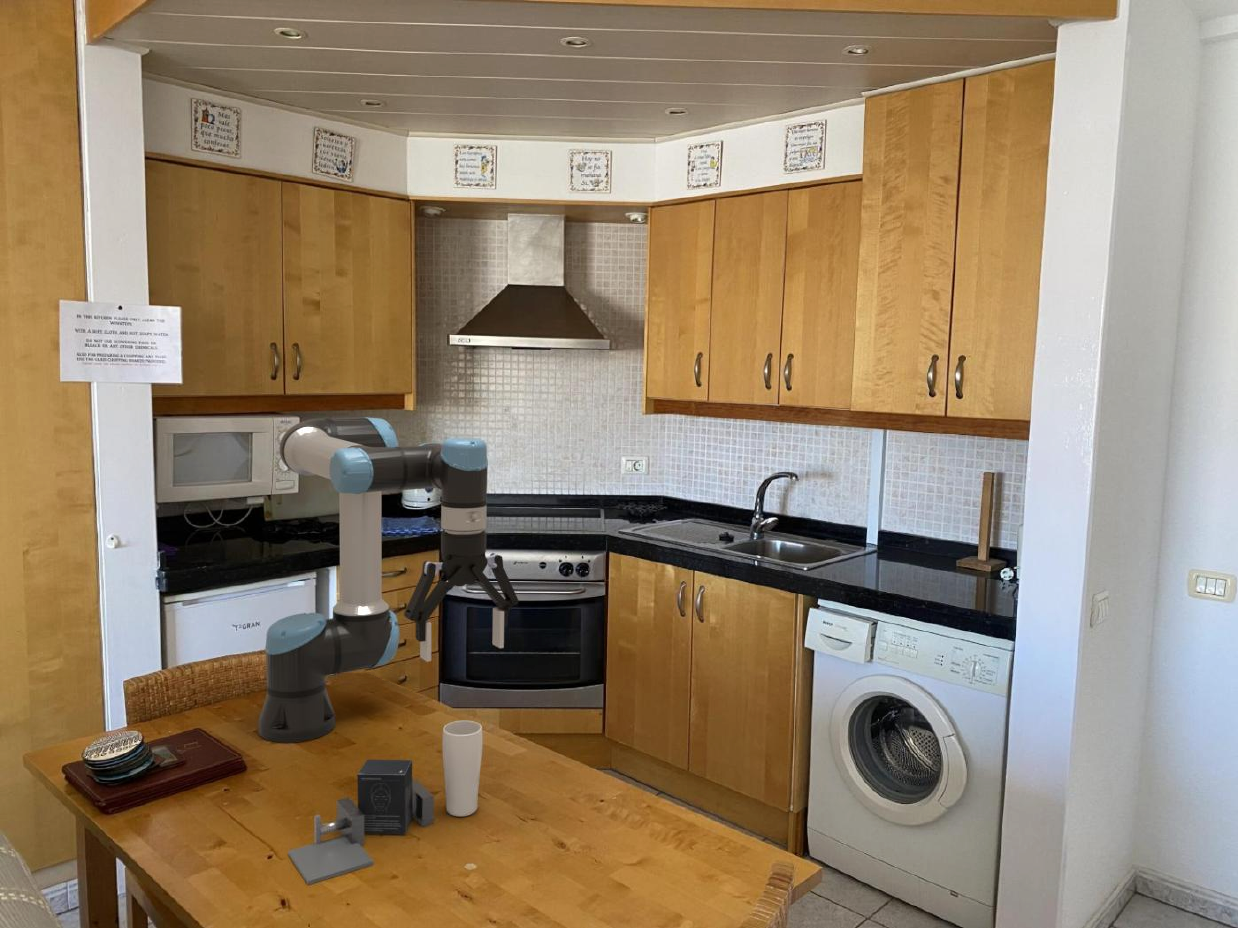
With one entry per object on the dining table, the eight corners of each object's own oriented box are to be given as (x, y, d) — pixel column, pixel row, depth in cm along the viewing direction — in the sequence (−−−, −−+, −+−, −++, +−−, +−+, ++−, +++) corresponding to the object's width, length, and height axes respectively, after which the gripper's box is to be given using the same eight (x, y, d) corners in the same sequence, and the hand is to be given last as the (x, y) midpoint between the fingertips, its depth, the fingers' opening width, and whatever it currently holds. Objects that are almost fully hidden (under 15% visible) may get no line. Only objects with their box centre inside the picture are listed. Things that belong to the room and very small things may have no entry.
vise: (308, 836, 149) (308, 807, 149) (416, 806, 160) (416, 779, 160) (322, 856, 143) (322, 826, 143) (433, 823, 154) (433, 795, 154)
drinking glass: (473, 822, 155) (474, 737, 154) (435, 817, 157) (436, 733, 155) (487, 803, 162) (488, 721, 160) (450, 798, 163) (451, 717, 161)
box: (413, 818, 156) (413, 759, 155) (405, 835, 150) (405, 774, 149) (366, 817, 156) (366, 757, 155) (357, 834, 150) (356, 772, 149)
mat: (287, 854, 144) (287, 850, 144) (350, 836, 150) (350, 832, 150) (308, 884, 136) (308, 880, 136) (373, 864, 142) (373, 860, 142)
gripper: (402, 541, 144) (402, 671, 146) (539, 527, 159) (536, 646, 161) (384, 532, 150) (384, 658, 153) (517, 520, 165) (515, 635, 167)
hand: (462, 652), depth 157 cm, fingers open, 13 cm apart
